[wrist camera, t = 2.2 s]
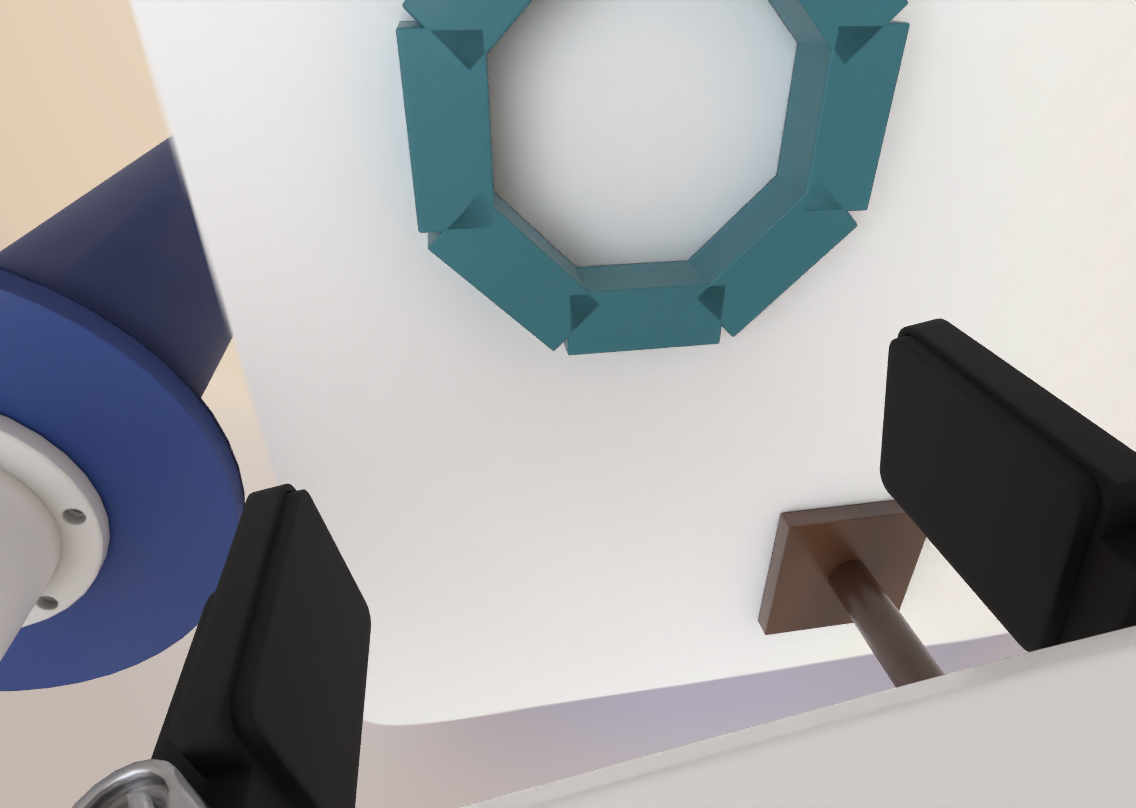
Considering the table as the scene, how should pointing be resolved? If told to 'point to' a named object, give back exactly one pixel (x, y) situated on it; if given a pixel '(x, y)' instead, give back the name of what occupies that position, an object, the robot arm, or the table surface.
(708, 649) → the table surface
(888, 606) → the holder
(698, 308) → the ring
